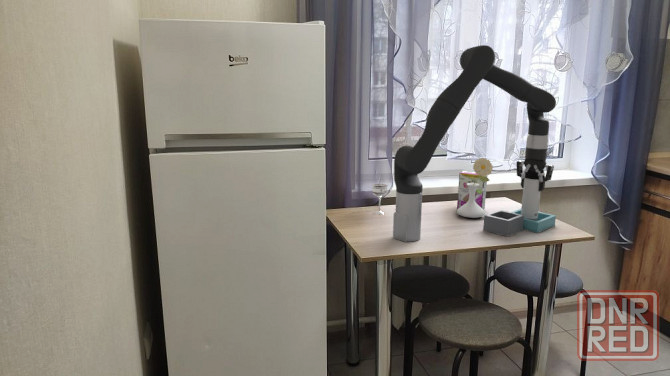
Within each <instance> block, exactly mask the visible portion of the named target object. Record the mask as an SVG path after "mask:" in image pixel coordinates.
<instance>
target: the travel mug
mask: <svg viewBox="0 0 670 376" xmlns="http://www.w3.org/2000/svg"><path fill="white" fill-rule="evenodd" d="M542 172H544V173H545V169H543V170H542V171H541V172H540V173H541V174H542ZM524 178H525V179H524V187H523V188H522V201H521V208H520V209H521V215H524V218H525V219H529V220H533V221H537V220H538V212H540V211H539V210H540V201H541V192H542V191H541V192H540V191H538V190H539V182H540V179H539V176H538V172H525V177H524Z"/></svg>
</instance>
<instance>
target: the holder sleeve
mask: <svg viewBox="0 0 670 376" xmlns="http://www.w3.org/2000/svg"><path fill="white" fill-rule="evenodd" d="M512 212H513V211H507V210H503V209H498V210H495V211H492V212H489V213H485V215H484V216H483V229H482V230H483V231H484V232H489V233H492V234H495V235H496V234H497V235H498V236H499V235H500V236H504V237H510V236H513V235H515V234H517V233H520V232H522V231H523V230H524V229H523V222H524V215H520V214H516V213H512Z"/></svg>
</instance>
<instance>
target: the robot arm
mask: <svg viewBox="0 0 670 376" xmlns="http://www.w3.org/2000/svg"><path fill="white" fill-rule="evenodd" d="M495 60H496V54H495V50H494V49H493V48H492V47H491V46H490V45H484V44H483V45H477V46H472V47H469V48H467V49H465V50H464V51H463V52H462V53H461V55H460V57H459V65H460V67H461V69H462V71H461V73H460V74H459V75H458V77H457V78H456V79H455V80H454V81H452V82H451V84H449V85H448V86H447V87H446V88H445V89H444V90H443V91H442V92H441V93H440V94H439V95H438V96H437V97H436V99H435V101H434V102H433V104H432V105H431V107H430V108H429V109H428V110H429V111H428V112H427V117H426V120H425V126H424V130H423V132H422V134H421V136H420V137H419V138H418V140H417V142H416V143H415V145H412V146H411V145H402V146H401V147H399V148H398V149H397V151H396V152H395V154H394V161H393V173H394V174H393V176H394V179H393V180H394V181H393V182H394V184H395V187H396V188H395V192H396V194H395V211H394V212H393V220H392V221H393V222H392V223H393V225H392V226H393V227H392V238H393V239H396V240H397V241H398V240H399V241H402V242H404V243H407V242H416V241H418V240H421V233H422V232H421V231H422V230H421V228H422V209H423V207H422V206H423V184H422V182H421V181H420V178H419V174H421V173H423V172H424V171H425V169H426V168H427V167H428V165H429V163H430V162H431V159H432V158H433V156H434V153H435V152H436V150H437V147H438V146H439V144H440V143H441V142H442V141H443V138H444V137H445V135H446V134H447V132H448V130H449V129H450V128H451V126H452V125H453V123H454V122H455V120H456V119H457V118H458V115H460V113H461V112H462V109H463V108H464V106H465V105H466V103H467V101H469V99H470V97H471V95H472V94H473V92H474V90H475V89H476V88H477V87H478V85H479V84H480V83H481V81H483V80H484V81H485V82H488V83H490V84H492V85H494V86H496V87H497V88H499V89H501V90H503V91H504V92H506V93H507V94H509V95H510V96H512V97H513V98H514V99H517V100H518V101H521V102H523V103H526V111H527V113H526V114H527V119H528V131H527V137H526V143H525V153H524V158H525V159H524V160H523V161H522V160H517V161H516V176H517V177H519V178H520V187H521V189H523V187H524V179H525V178H524V177H525V172H538V176H539V179H540V182H539V190H538V191H540V192H543V191H544V190H545V188H546V182H549V181H551V180H552V176H553V172H554V168H555V166H554V164H552V165H551V164H547V161H546V160H547V154H548V147H549V129H550V128H549V127H550V121H549V120H548V119H546V117H545V116H544V113H545V114H546V113H550V112H552V111H553V110H554V109H555V108H556V106H557V102H556V98H555V96H554V95H553V94H552V93H551V92H550V91H547V90H545V89H542V88H541V87H538V86H536V85H534V84H532V83H531V82H529V81H528V80H526V79H525V78H523V77H522V76H520V75H518V74H516V73H514V72H511V71H508V70H506V69H503V68H500V67H498V66H496V65H495V64H494V63H495ZM524 167H525V168H524ZM523 168H524V169H523ZM542 170H546V173H545V171H544V172H542V174H541V173H540V172H541V171H542Z"/></svg>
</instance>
